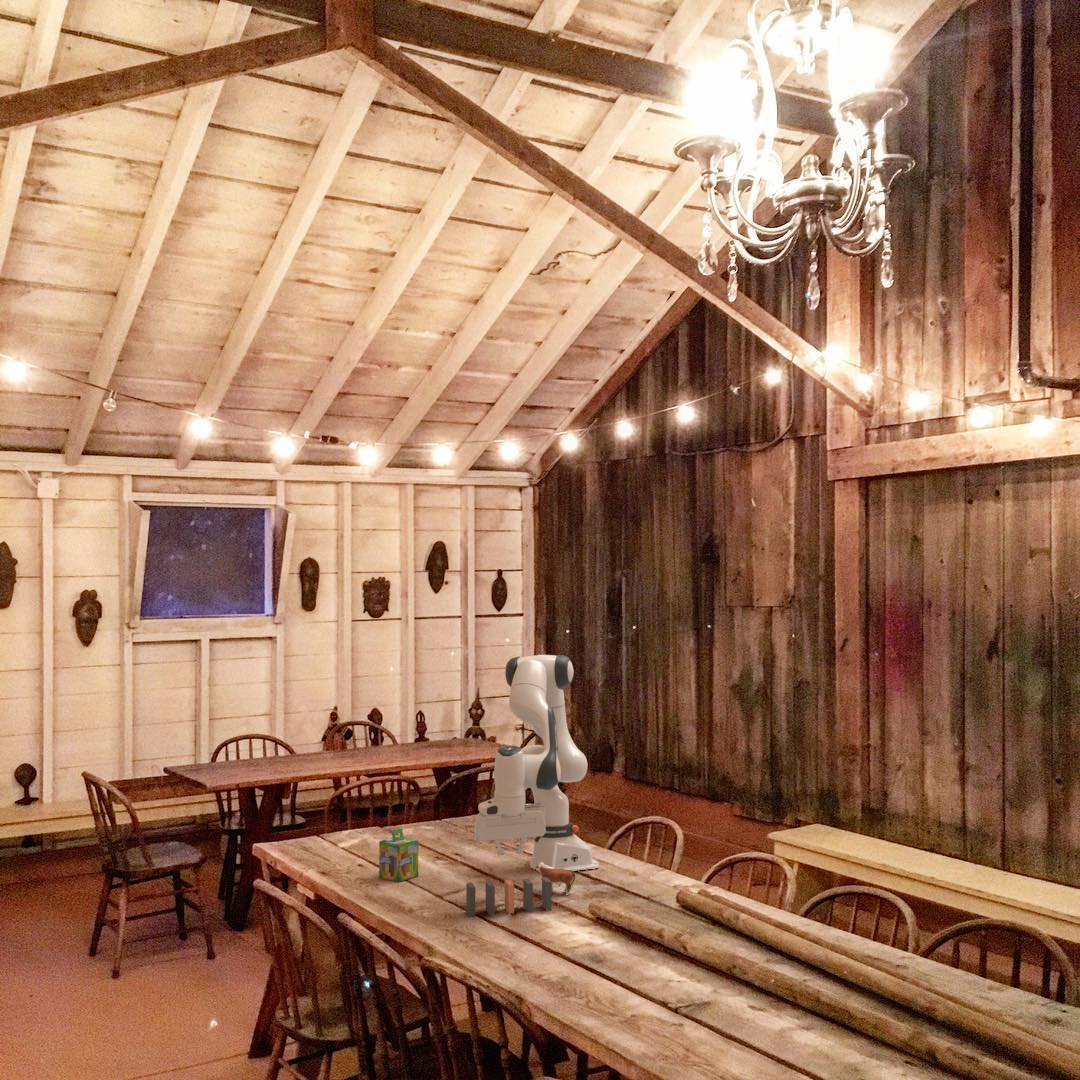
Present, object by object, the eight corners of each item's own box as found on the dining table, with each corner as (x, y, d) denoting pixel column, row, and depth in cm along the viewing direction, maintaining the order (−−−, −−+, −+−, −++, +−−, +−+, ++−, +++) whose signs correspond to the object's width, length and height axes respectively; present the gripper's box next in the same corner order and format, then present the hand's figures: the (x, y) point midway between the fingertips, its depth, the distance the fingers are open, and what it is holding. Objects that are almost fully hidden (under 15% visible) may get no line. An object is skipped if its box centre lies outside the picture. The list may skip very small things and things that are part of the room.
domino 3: (509, 908, 309) (510, 879, 309) (513, 913, 304) (514, 884, 305) (504, 908, 309) (504, 880, 309) (508, 913, 304) (508, 884, 304)
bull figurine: (538, 887, 331) (538, 860, 331) (577, 893, 324) (577, 866, 324) (531, 890, 327) (531, 863, 327) (570, 897, 320) (570, 869, 320)
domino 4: (528, 906, 310) (528, 878, 311) (532, 911, 306) (532, 883, 306) (523, 907, 310) (523, 879, 310) (527, 912, 305) (527, 883, 306)
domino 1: (471, 911, 306) (472, 882, 307) (475, 916, 302) (475, 887, 302) (466, 911, 306) (466, 883, 306) (469, 916, 301) (469, 887, 301)
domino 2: (490, 909, 308) (491, 881, 308) (494, 914, 303) (494, 885, 303) (485, 910, 307) (485, 881, 308) (489, 915, 303) (489, 886, 303)
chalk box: (398, 883, 335) (399, 834, 336) (377, 878, 341) (378, 830, 341) (419, 876, 342) (419, 829, 343) (398, 872, 348) (399, 825, 348)
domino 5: (547, 905, 312) (547, 877, 312) (551, 910, 307) (551, 881, 308) (541, 905, 311) (541, 877, 312) (546, 910, 307) (546, 882, 307)
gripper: (542, 800, 313) (542, 848, 313) (472, 804, 308) (473, 853, 308) (548, 804, 307) (548, 853, 307) (477, 809, 302) (477, 859, 302)
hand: (510, 853), depth 307 cm, fingers open, 4 cm apart
